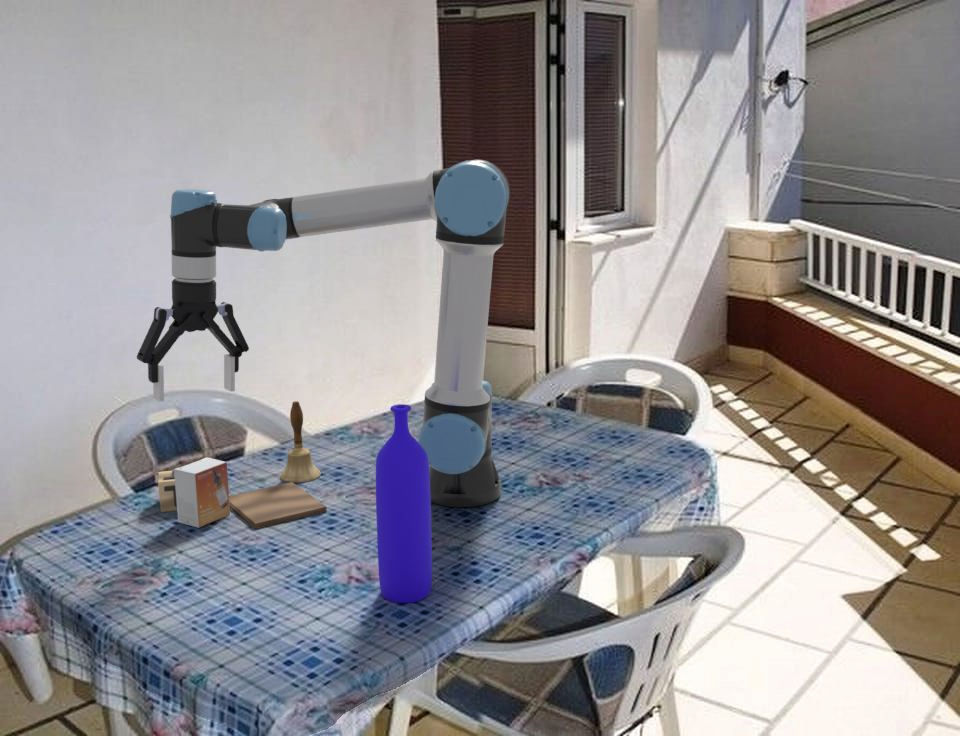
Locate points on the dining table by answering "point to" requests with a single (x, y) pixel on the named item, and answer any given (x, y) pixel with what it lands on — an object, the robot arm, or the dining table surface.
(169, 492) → the letter cube
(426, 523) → the bottle
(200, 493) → the small box
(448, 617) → the dining table surface
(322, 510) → the walnut board
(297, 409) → the hand bell
